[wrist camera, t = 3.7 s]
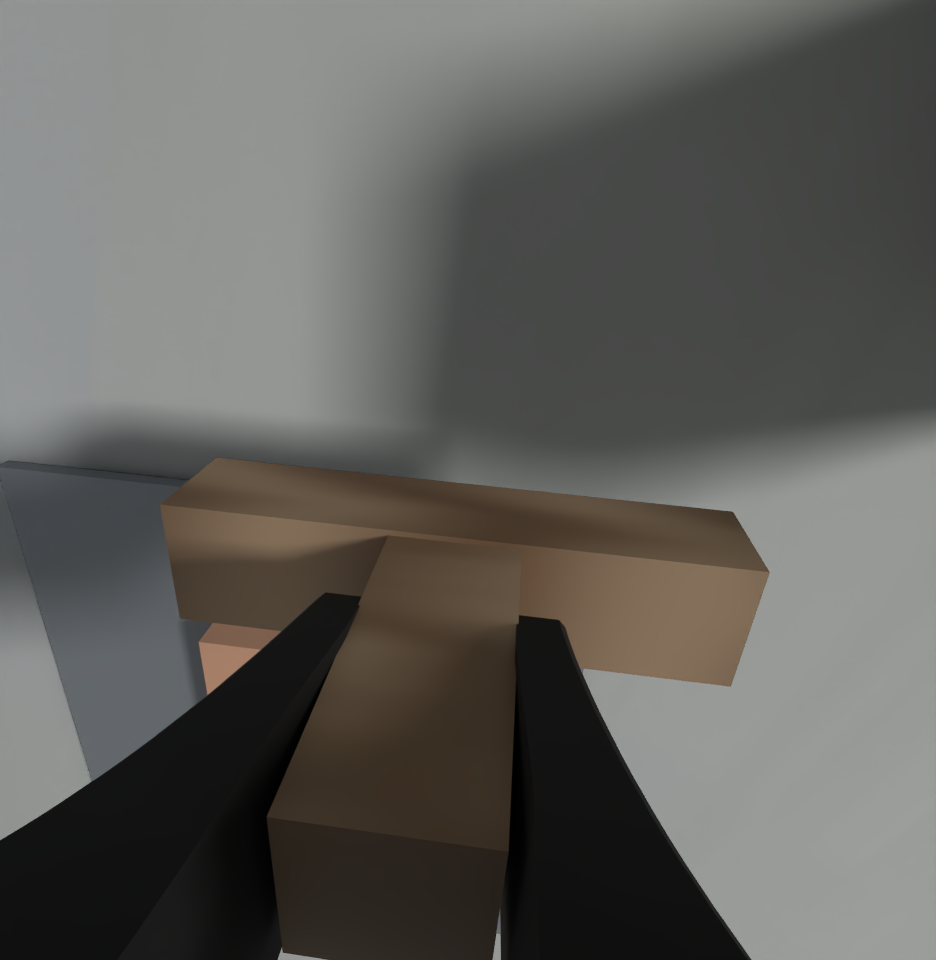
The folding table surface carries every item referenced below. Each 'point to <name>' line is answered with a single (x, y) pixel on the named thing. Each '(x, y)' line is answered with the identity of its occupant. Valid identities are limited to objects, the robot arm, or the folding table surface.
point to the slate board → (108, 602)
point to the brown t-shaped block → (438, 668)
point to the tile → (229, 650)
